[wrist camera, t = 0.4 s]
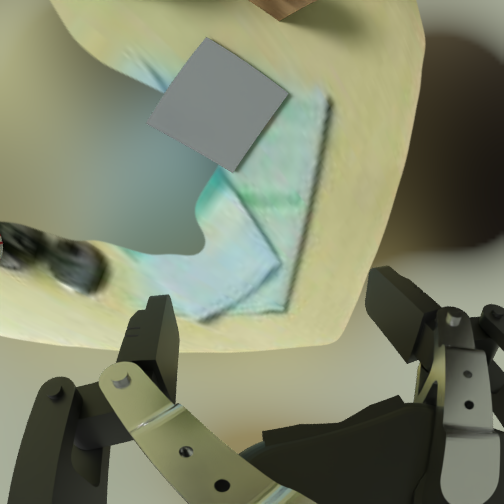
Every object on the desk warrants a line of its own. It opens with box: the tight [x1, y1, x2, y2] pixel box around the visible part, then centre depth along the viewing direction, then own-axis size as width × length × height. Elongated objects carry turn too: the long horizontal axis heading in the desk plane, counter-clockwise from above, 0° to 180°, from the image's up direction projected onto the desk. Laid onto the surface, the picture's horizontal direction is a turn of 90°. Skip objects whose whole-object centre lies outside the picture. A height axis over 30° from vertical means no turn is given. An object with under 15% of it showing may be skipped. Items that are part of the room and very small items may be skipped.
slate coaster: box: [146, 37, 289, 173], centre depth 30 cm, size 12×12×1 cm
